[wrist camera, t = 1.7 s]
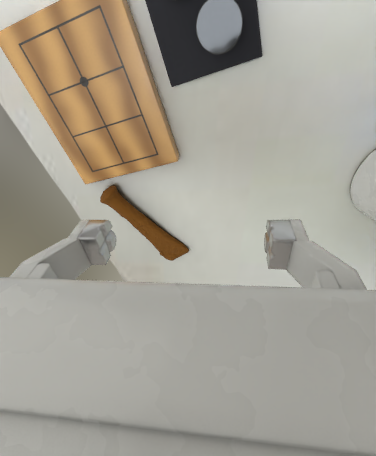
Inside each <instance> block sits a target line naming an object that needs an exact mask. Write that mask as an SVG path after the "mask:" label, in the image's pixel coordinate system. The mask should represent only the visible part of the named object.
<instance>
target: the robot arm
mask: <svg viewBox="0 0 376 456" xmlns="http://www.w3.org/2000/svg"><path fill="white" fill-rule="evenodd" d="M350 193H351V199H352V202H353V204H354V205H355V207H356V208H357V209H358V210H359V211H360V212H362V213H363V214H365V215H367V216H368V217H370V218H372V219H373V220H375V221H376V149H375V150H374V151H373V152H372V153H371V154H370V155H369V156H368V157H367V158H366V159H365V160H364V161H363V162H362V164H361V165H360V167H359V168H358V170H357V171H356V173H355V175H354V177H353V180H352V184H351V190H350ZM111 228H112V224H111V222H110V221H109V220H81V221H80V222H79V223H78V225H77V226H76V227H75V228H74V230H73V231H72V232H71V234H70V235H69V237H68V238H67V239H63V240H61V241H59V242H57V243H56V244H54V245H52V246H51V247H49V248H47V249H45V250H43V251H41V252H40V253H38V254H36V255H34V256H32V257H31V258H29V259H27V260H25V261H23V262H22V263H21V264H20V265H19V267H18V268H17V269H16V270H15V271H14V272H13V274H12V275H11V276H10V277H0V456H376V290H367V289H366V287H365V285H364V283H363V282H362V280H361V278H360V276H359V274H358V272H357V271H356V270H355V269H353V268H352V267H350V266H349V265H347V264H346V263H344V262H343V261H341V260H340V259H338V258H337V257H335V256H334V255H332V254H331V253H330V252H328V251H327V250H325V249H324V248H322V247H321V246H319V245H318V244H316V243H315V242H313V241H309V238H308V236H307V234H306V231H305V229H304V226H303V224H302V221H301V220H300V219H290V220H267V224H266V229H267V232H266V233H265V238H264V246H265V252H266V253H267V264H268V269H286V270H287V271H288V272H289V273H290V274H291V275H292V276H293V278H294V279H295V280H296V281H297V282H298V283H299V284H300V285H301V286H302V287H303V288H299V287H269V286H240V285H212V284H184V283H154V282H126V281H97V280H75V279H76V278H77V277H78V276H79V275H80V274H82V273H83V272H84V271H85V270H86V269H88V268H89V267H90V266H91V265H99V264H100V265H103V264H105V265H106V264H107V262H108V260H109V258H110V256H111V255H110V252H111V251H112V250H114V248H115V246H116V235H115V233H114V232H113V231H112V230H111Z"/></svg>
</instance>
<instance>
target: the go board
mask: <svg viewBox="0 0 376 456" xmlns="http://www.w3.org/2000/svg"><path fill="white" fill-rule="evenodd" d="M0 47H1V48H2V50H3V52H4V53H5V55H6V56H7V58H8V60H9V61H10V63H11V65H12V66H13V68H14V69H15V71H16V73H17V74H18V76H19V78H20V79H21V81H22V82H23V84H24V86H25V87H26V89H27V90H28V92H29V94H30V95H31V97H32V99H33V100H34V102H35V103H36V105H37V107H38V108H39V110H40V112H41V113H42V115H43V116H44V118H45V120H46V121H47V123H48V124H49V126H50V128H51V129H52V131H53V133H54V134H55V136H56V137H57V139H58V141H59V142H60V144H61V146H62V147H63V149H64V150H65V152H66V154H67V155H68V157H69V158H70V160H71V162H72V163H73V165H74V167H75V168H76V170H77V171H78V173H79V175H80V176H81V178H82V180H83V181H84V183H85V184H89V183H93V182H97V181H101V180H105V179H109V178H113V177H117V176H121V175H125V174H129V173H133V172H137V171H141V170H145V169H149V168H153V167H157V166H161V165H165V164H169V163H173V162H177V161H178V159H179V153H178V150H177V147H176V144H175V141H174V138H173V135H172V133H171V130H170V127H169V124H168V121H167V118H166V115H165V112H164V109H163V106H162V103H161V100H160V97H159V94H158V91H157V88H156V85H155V82H154V79H153V76H152V73H151V70H150V67H149V65H148V62H147V59H146V56H145V53H144V50H143V47H142V44H141V41H140V38H139V35H138V32H137V29H136V26H135V23H134V20H133V17H132V14H131V11H130V8H129V5H128V2H127V0H60V1H58V2H56V3H54V4H52V5H50V6H48V7H46V8H44V9H42V10H40V11H38V12H36V13H34V14H32V15H30V16H28V17H26V18H25V19H23V20H21V21H19V22H17V23H15V24H13V25H11V26H9V27H7V28H5V29H3V30H1V31H0Z"/></svg>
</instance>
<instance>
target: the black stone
mask: <svg viewBox="0 0 376 456" xmlns="http://www.w3.org/2000/svg"><path fill="white" fill-rule="evenodd" d="M242 27H243V17H242V12H241V9H240V7H239V5H238V3H237V2H236V1H235V0H207V1H206V2H205V3H204V4H203V5H202V7H201V9H200V11H199V13H198V16H197V21H196V33H197V37H198V40H199V42H200V44H201V45H202V47H203V48H204V49H205V50H206V51H208V52H209V53H212V54H223V53H226V52H228V51H229V50H231V49H232V48H233V47H234V46H235V44H236V43H237V42H238V40H239V38H240V35H241V32H242Z"/></svg>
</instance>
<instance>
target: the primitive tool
mask: <svg viewBox="0 0 376 456" xmlns="http://www.w3.org/2000/svg"><path fill="white" fill-rule="evenodd" d="M101 202H102V203H104V204H106V205H109V206H110V207H111V208H113V209H114V210H115V211H116V212H118V213H119V214H120V215H121V216H122V217H124V218H125V219H127V220H128V221H129V222H130V223H131V224H132V225H133V226H134V227H135V228H136V229H137V230H139V232H141V233H142V234H143V235H144V236H145V237H146V238H147V239H148V240H149V241H150V242H151V243H152V244H153V245H154V246H155V248H156V249H158V251H159V252H160V255H162V256H164V258H166V259H168V260H174V259H175V258H178V257H180V256H182V255H184V254H185V253H187V252H188V251H189V249H188V248H187V247H186V246H185V245H184V244H183V243H181V242H180V241H178V240H177V239H175V238H174V237H172V236H171V235H169V234H168V233H167V232H165V231H164V230H163V229H162V228H160V227H158V226H157V225H156V224H155V223H154V222H152V221H151V220H150V219H149V218H147V217H146V216H145V215H144V214H142V213H141V212H140V211H138V210H137V209H136V208H134V206H132V205H131V204H130V203H129V202H128V201H127V200H125V199H124V198H123V197H122V196H121V195H120V193H119V192H118V191H117V188H116V186H115V185H113V186H110V187H109V188H107V189H106V190H105V191H103V194H102V195H101Z"/></svg>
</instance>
